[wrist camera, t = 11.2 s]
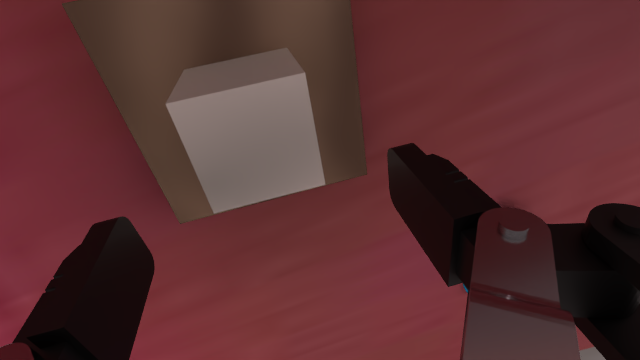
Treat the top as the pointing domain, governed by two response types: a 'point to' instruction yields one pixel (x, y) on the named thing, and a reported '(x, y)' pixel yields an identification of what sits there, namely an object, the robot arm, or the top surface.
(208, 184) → the pale grey cube block
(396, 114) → the top surface
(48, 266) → the top surface
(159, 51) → the board
